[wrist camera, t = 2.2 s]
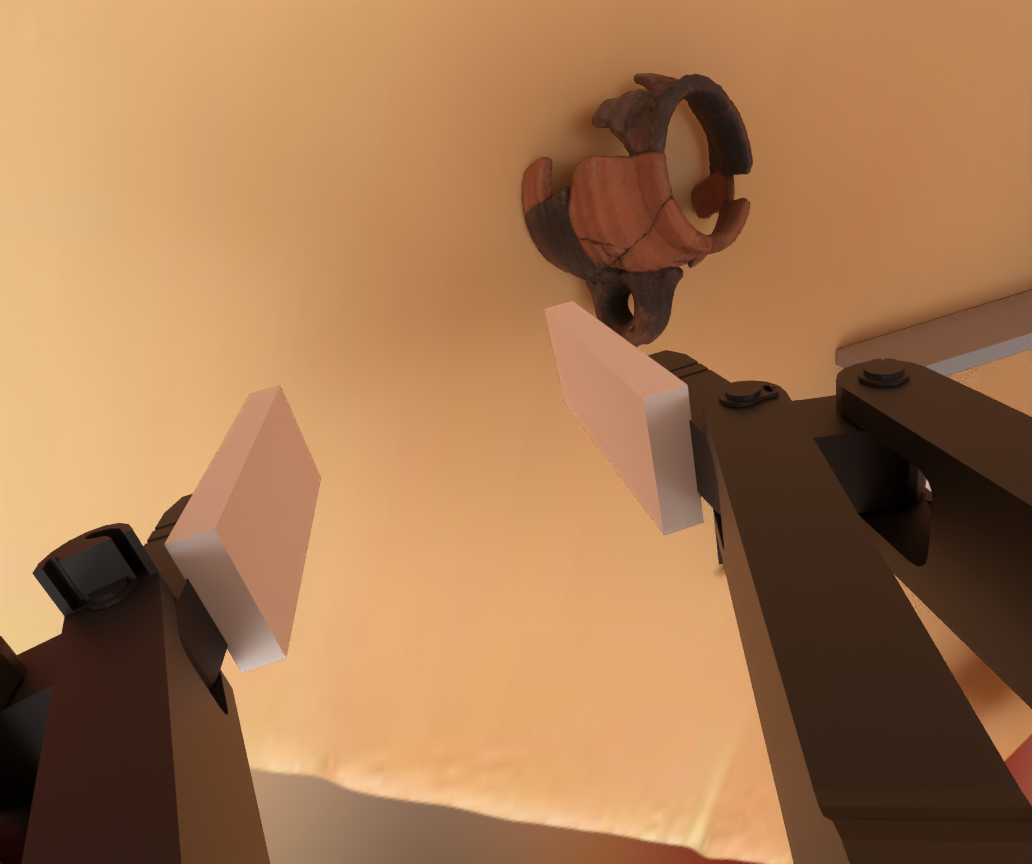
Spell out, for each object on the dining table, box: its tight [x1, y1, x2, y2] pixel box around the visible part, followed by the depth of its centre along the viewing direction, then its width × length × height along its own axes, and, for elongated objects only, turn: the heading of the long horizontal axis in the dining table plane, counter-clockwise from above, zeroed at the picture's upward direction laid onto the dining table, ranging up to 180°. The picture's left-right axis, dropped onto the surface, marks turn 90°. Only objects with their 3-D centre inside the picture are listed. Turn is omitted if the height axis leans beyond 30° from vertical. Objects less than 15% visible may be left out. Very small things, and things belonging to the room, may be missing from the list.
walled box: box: [836, 290, 1032, 376], centre depth 31 cm, size 24×17×5 cm
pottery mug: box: [522, 73, 753, 347], centre depth 30 cm, size 12×10×8 cm
